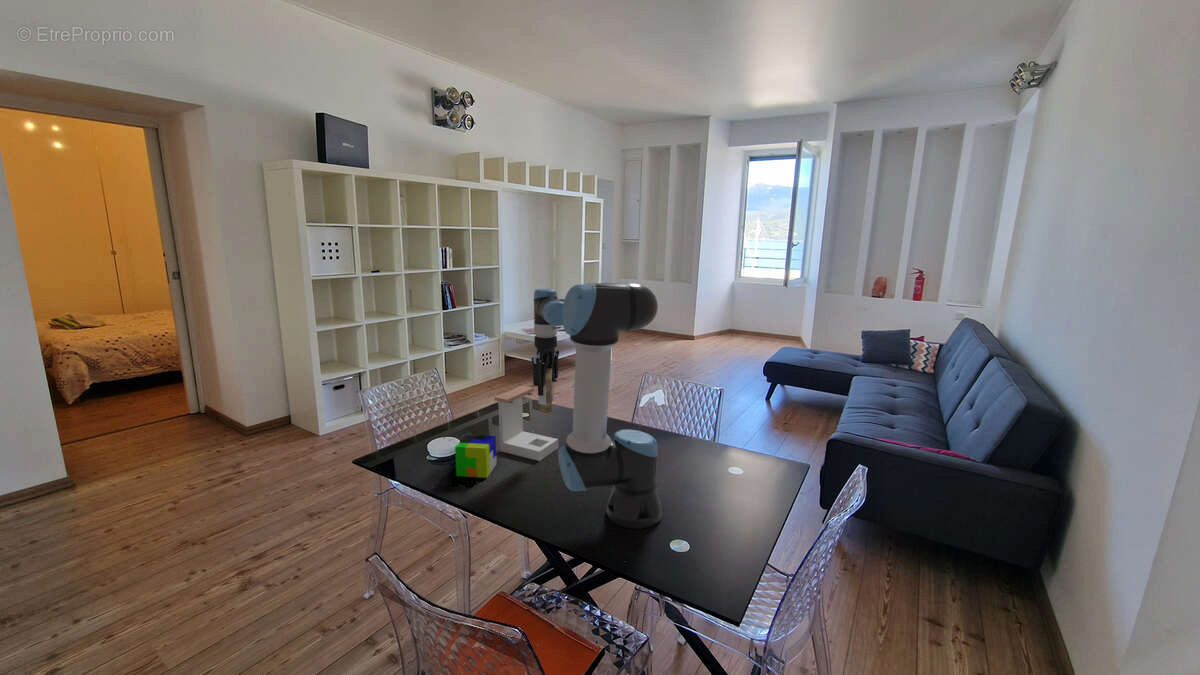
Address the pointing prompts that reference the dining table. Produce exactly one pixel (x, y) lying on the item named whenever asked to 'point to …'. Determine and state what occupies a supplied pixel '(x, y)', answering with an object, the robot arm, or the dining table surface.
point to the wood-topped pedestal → (511, 412)
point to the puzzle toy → (475, 456)
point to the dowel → (547, 392)
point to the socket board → (530, 445)
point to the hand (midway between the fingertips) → (546, 401)
